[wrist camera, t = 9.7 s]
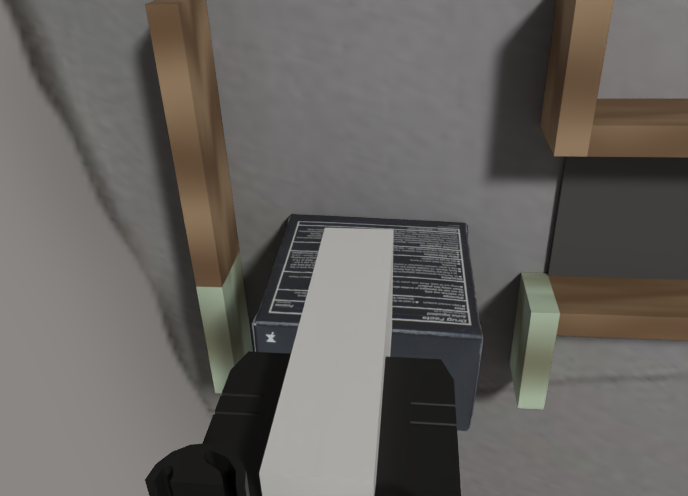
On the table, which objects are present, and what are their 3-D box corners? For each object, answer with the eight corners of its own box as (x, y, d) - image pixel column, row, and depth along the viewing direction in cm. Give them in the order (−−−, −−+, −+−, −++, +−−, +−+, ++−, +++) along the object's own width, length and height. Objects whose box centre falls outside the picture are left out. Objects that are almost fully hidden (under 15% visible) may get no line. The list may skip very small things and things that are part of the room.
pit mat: (569, 127, 33) (570, 129, 33) (817, 128, 32) (820, 130, 31) (547, 273, 37) (548, 275, 37) (763, 279, 36) (765, 282, 36)
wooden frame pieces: (175, -10, 32) (145, 4, 28) (908, -24, 28) (976, -10, 25) (231, 351, 43) (215, 392, 40) (755, 373, 40) (786, 421, 36)
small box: (292, 301, 41) (255, 423, 32) (287, 211, 37) (245, 318, 28) (459, 312, 40) (470, 440, 31) (469, 219, 36) (486, 333, 27)
